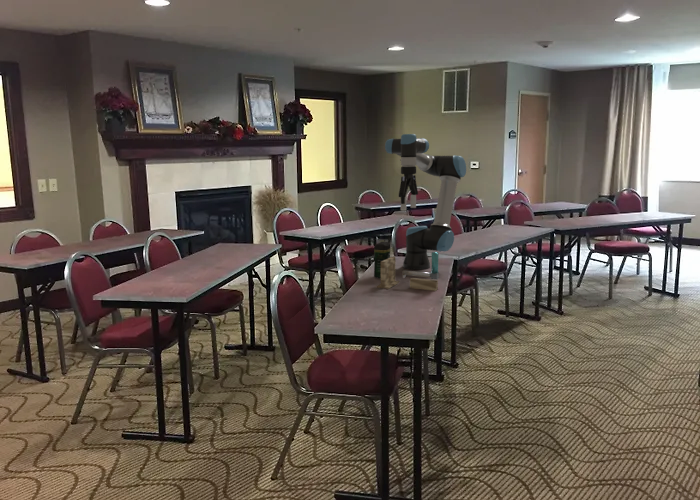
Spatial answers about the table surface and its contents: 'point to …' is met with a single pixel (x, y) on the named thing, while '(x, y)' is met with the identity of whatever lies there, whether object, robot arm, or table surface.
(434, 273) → the teal handled tool
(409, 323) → the table surface
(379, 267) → the coffee jar
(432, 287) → the tan wooden bar
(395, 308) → the table surface
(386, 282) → the tan wooden block
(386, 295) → the table surface
